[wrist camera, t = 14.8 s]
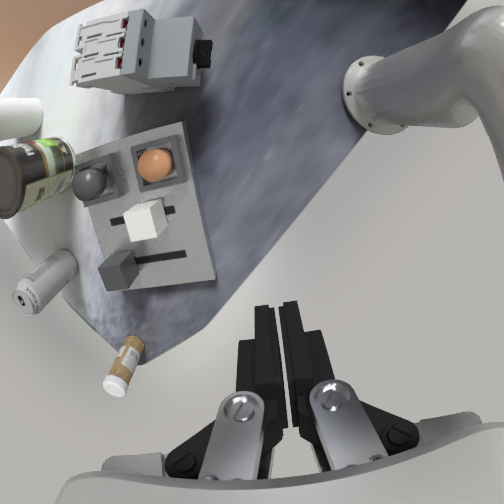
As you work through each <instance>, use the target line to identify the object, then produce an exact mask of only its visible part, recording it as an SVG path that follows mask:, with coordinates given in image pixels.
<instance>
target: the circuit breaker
mask: <svg viewBox="0 0 504 504" xmlns="http://www.w3.org/2000/svg"><path fill="white" fill-rule="evenodd" d="M204 38H205V36H204V34H203V32H202V30H201V28H200V26H199V24H198V22H197V21H196V19H195V17H194V16H191V17H178V18H168V19H159V20H155V19H154V18H153V17H152V16H151V15H150V14H149V13H148V12H147V11H146V10H145V9H140V10H134V11H129V12H125V13H120V14H116V15H112V16H108V17H104V18H100V19H96V20H93V21H89V22H87V24H86V25H85V26H82V25H81V24H80V25H79V27H78V32H77V38H76V43H75V49H74V50H75V51H77V52H79V53H81V55H79V56H75V57H73V63H72V71H71V80H70V85H74V83H76V87H82V88H92V87H95V88H101V89H106V90H111V93H115V94H123V95H127V93H128V94H140V93H152V92H166V91H175V87H191V86H200V80H201V68H210V65H211V60H210V58H211V50H212V44H213V42H212V40H204ZM80 40H81V46H79V43H80ZM76 63H78V68H77V70H76Z"/></svg>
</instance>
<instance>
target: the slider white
mask: <svg viewBox="0 0 504 504" xmlns="http://www.w3.org/2000/svg"><path fill="white" fill-rule="evenodd" d="M123 216H124V220H125V223H126V227H127V230H128V234H129V237H130V240H131V242H134V241H139V240H145V239H151V238H156V237H158V236H159V235H160V234H161V232H162V231H163V230H164V229H165V228H166V226H167V225H168V224H167V220H166V216H165V212H164V208H163V204H162V200H161V199H157V200H152V201H148V202H143V203H139V204H136V205H135V206H133V207H132V208H130V209H129V210H128V211H126V212H125V213H123Z"/></svg>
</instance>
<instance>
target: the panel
mask: <svg viewBox="0 0 504 504" xmlns="http://www.w3.org/2000/svg"><path fill="white" fill-rule="evenodd" d="M157 148H163V149H166V150H168V151H169V152H170V153H171V154H172V156H173V158H174V168H173V170H172V172H171V173H170V174H169V175H168V176H166V177H164V178H162V179H161V180H159V181H156V182H150V181H147V180H145V179H144V178H143V177H142V176H141V175H140V173H139V171H138V161H139V159H140V157H141V155H142V154H143V153H145V152H146V151H149V150H153V149H157ZM76 160H77V165H76V166H74V168H75V173H76V174H78V173H79V172H81V171H84V170H87V169H90V168H99V169H100V170H102V171H103V172H104V174H105V176H106V180H107V185H106V189H105V191H104V192H103V193H102V194H101V195H99V196H97V197H95V198H93V199H91V200H89V201H83V204H84V208H85V207H88V209H89V212H90V216H91V219H92V222H93V225H94V229H95V232H96V235H97V238H98V241H99V244H100V247H101V250H102V253H103V256H104V259H105V260H106V259H107V258H108V257H109V256H110V255H111V254H115V253H121V252H127V251H132V252H133V255H134V258H135V261H136V264H137V267H138V270H139V275H138V276H137V277H136V279H135V280H134V282H133V283H132V285H131V286H130V287H129V289H125V290H131V289H140V288H149V287H157V286H166V285H174V284H182V283H190V282H198V281H206V280H214V279H216V275H217V269H216V265H215V261H214V256H213V252H212V248H211V243H210V239H209V234H208V230H207V225H206V221H205V216H204V212H203V207H202V202H201V198H200V193H199V188H198V183H197V178H196V173H195V168H194V163H193V158H192V153H191V148H190V142H189V137H188V132H187V126H186V122H178V123H174V124H170V125H166V126H162V127H158V128H155V129H151V130H148V131H144V132H141V133H138V134H134V135H131V136H128V137H125V138H122V139H119V140H116V141H113V142H110V143H107V144H104V145H101V146H99V147H96V148H93V149H90V150H88V151H85V152H83V153H80V154H78V155H76ZM157 199H161V200H162V204H163V208H164V212H165V216H166V220H167V224H168V225H167V226H166V228H165V229H164V230H163V231H162V232H161V234H160V235H159V236H158V237H156V238H151V239H145V240H139V241H134V242H131V240H130V237H129V234H128V230H127V227H126V223H125V220H124V216H123V213H125V212H126V211H128V210H129V209H130V208H132V207H133V206H135V205H136V204H139V203H143V202H148V201H152V200H157ZM117 291H122V290H117Z"/></svg>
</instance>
